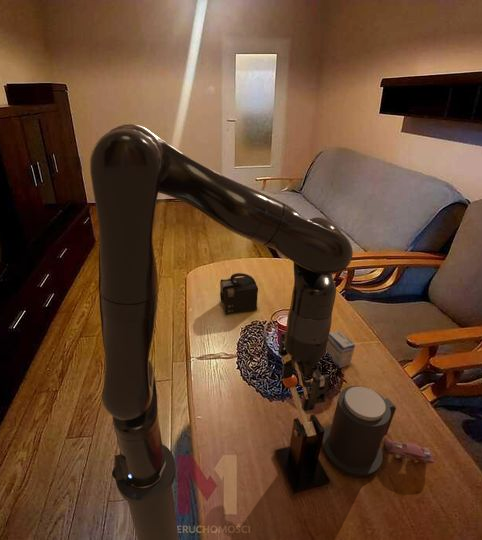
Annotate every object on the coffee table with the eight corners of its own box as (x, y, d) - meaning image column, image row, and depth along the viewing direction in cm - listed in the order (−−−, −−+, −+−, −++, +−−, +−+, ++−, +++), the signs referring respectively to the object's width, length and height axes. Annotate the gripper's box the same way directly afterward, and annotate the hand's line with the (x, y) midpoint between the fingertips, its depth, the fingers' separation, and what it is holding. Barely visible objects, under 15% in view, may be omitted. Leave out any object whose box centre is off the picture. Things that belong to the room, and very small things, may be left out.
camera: (218, 300, 144) (217, 269, 137) (250, 296, 146) (251, 265, 139) (223, 316, 135) (223, 283, 128) (258, 311, 137) (260, 279, 130)
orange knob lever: (279, 377, 84) (282, 373, 81) (292, 375, 85) (296, 370, 82) (301, 440, 76) (305, 437, 73) (315, 436, 77) (320, 433, 74)
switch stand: (274, 452, 86) (280, 410, 78) (308, 444, 88) (316, 402, 80) (292, 494, 78) (300, 451, 70) (329, 483, 80) (340, 440, 72)
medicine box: (323, 352, 116) (327, 332, 112) (334, 349, 118) (338, 329, 113) (339, 369, 110) (343, 348, 106) (350, 365, 111) (355, 344, 107)
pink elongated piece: (383, 457, 86) (391, 454, 80) (383, 438, 88) (390, 433, 83) (428, 469, 83) (439, 466, 78) (426, 448, 86) (437, 444, 80)
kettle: (341, 485, 79) (356, 435, 70) (311, 431, 91) (320, 383, 82) (398, 468, 82) (419, 419, 73) (362, 419, 94) (376, 371, 85)
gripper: (271, 309, 68) (265, 371, 76) (309, 359, 56) (296, 426, 64) (306, 304, 70) (296, 364, 77) (349, 350, 58) (332, 416, 65)
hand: (296, 392), depth 71 cm, fingers open, 8 cm apart
